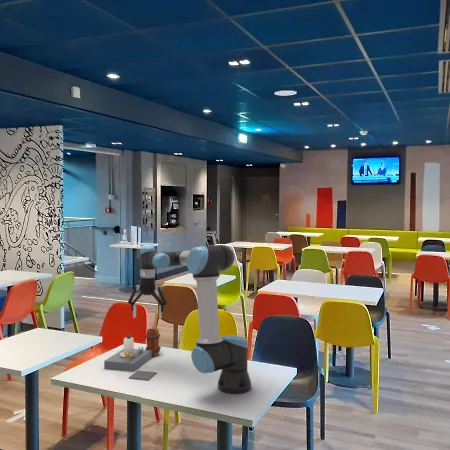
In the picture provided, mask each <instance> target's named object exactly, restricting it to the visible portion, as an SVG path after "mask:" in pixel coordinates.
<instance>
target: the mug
mask: <svg viewBox="0 0 450 450" xmlns="http://www.w3.org/2000/svg"><path fill="white" fill-rule="evenodd" d="M160 337H161V334H160V333H159V329H158V325H157V324H153V325H152V326H151V328H148V329H146V335H145V337H144V338H145V339H146V347H145V349H144V350H150V351H152V357H156V356H158V355H159V353H160V351H161V349H162V347H161V346H160V345H159V343H160Z"/></svg>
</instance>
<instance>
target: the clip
mask: <svg viewBox="0 0 450 450" xmlns="http://www.w3.org/2000/svg"><path fill="white" fill-rule="evenodd" d="M143 350H144V347H143V346H141V347H138V350H136V351H135V352H133V353H132V354H130V352H125V358H126V359H129V358H131V357H132V356H134V355H135V354H137V353H138V352H139V351H143Z"/></svg>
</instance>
